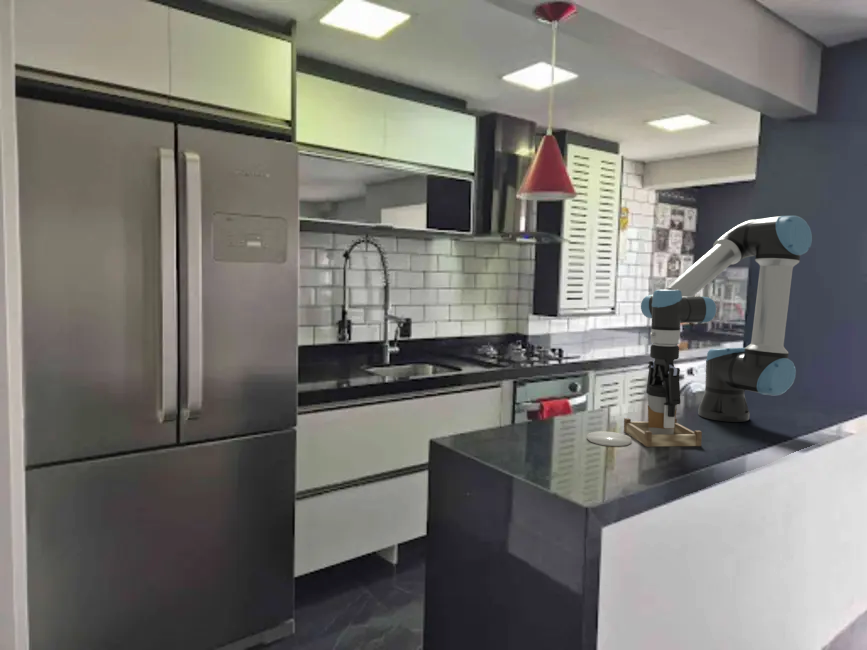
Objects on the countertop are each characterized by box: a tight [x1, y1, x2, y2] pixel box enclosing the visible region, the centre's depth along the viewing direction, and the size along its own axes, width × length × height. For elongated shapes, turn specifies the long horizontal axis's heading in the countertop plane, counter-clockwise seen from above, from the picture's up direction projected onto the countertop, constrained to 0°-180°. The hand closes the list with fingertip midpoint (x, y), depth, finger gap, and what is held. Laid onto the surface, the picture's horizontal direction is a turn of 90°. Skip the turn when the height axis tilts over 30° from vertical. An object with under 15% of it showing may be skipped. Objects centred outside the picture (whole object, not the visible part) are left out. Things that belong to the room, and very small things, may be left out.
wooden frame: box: [623, 417, 703, 448], centre depth 162 cm, size 15×15×4 cm
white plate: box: [586, 430, 633, 447], centre depth 160 cm, size 12×12×1 cm
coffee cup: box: [646, 383, 678, 435], centre depth 162 cm, size 8×8×15 cm
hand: (661, 423), depth 162 cm, fingers closed on coffee cup, 8 cm apart
